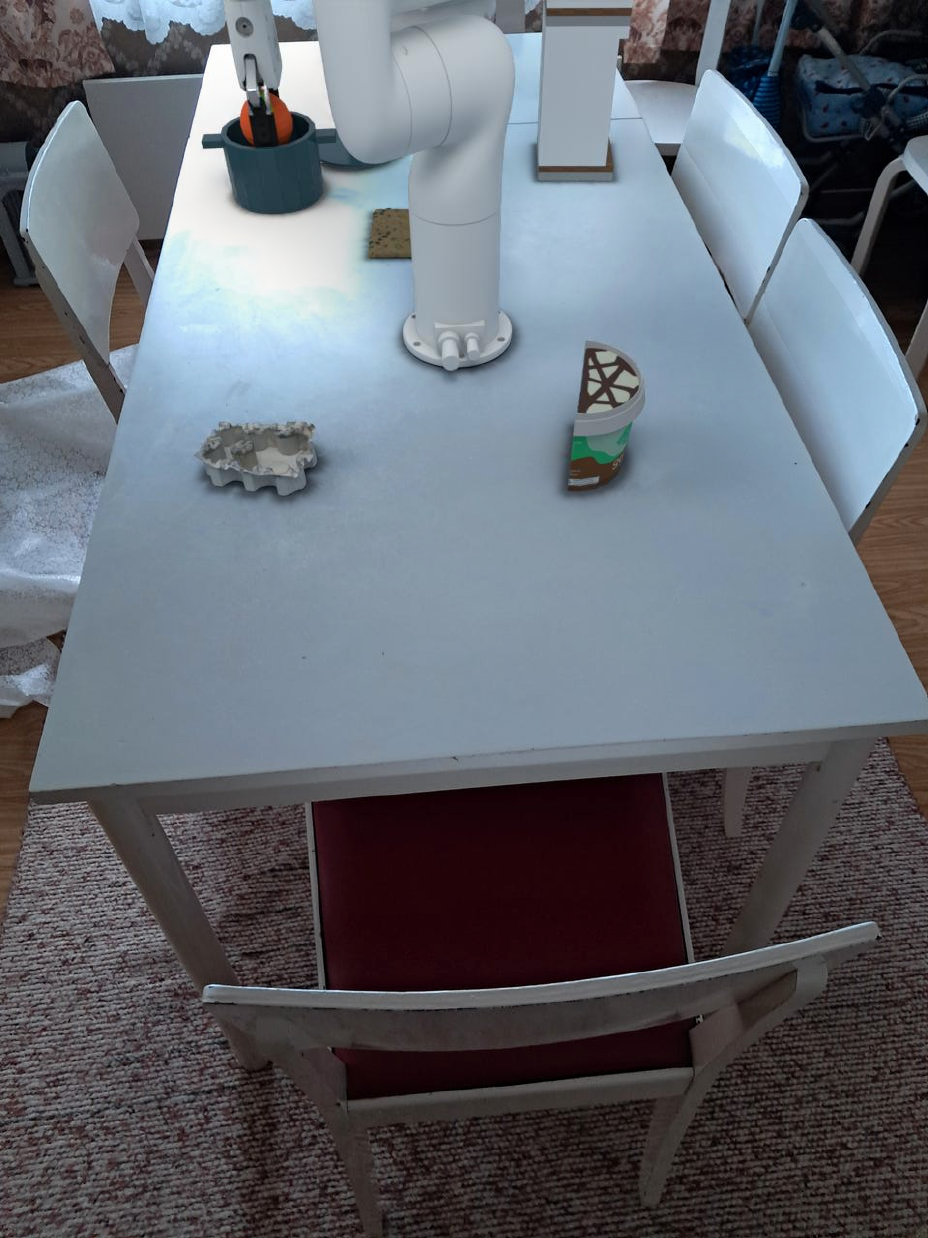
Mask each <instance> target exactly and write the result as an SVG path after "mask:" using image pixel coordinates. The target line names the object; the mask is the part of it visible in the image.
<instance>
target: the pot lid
mask: <svg viewBox="0 0 928 1238" xmlns="http://www.w3.org/2000/svg"><path fill="white" fill-rule="evenodd" d="M336 135H337V136H336V143H326V144H318V148H319V155H320V162H321V164H324V165H327V166H329V167H330V166H331V167H336V168H340V169H341V168H342V169H360V168H361V169H362V168H368V167H374V166H378V165H381V164H382V163H377V164H369V163H364V162H361V161H359V160H357V159H356V158H354V157H353V156H352V155H351V154H350V153H349V152H348V151H347V149H346V148H345V146H344V145H343V143H342V141H341V139H340V137H339V135H338V133H337V130H336Z"/></svg>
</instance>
